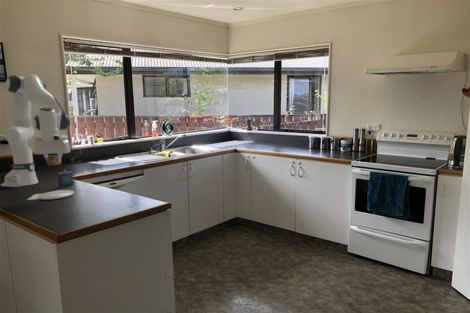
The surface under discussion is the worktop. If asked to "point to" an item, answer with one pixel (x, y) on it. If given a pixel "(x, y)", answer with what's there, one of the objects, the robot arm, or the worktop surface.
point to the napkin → (34, 197)
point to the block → (52, 160)
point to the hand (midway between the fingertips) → (53, 161)
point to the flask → (65, 179)
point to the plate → (56, 194)
